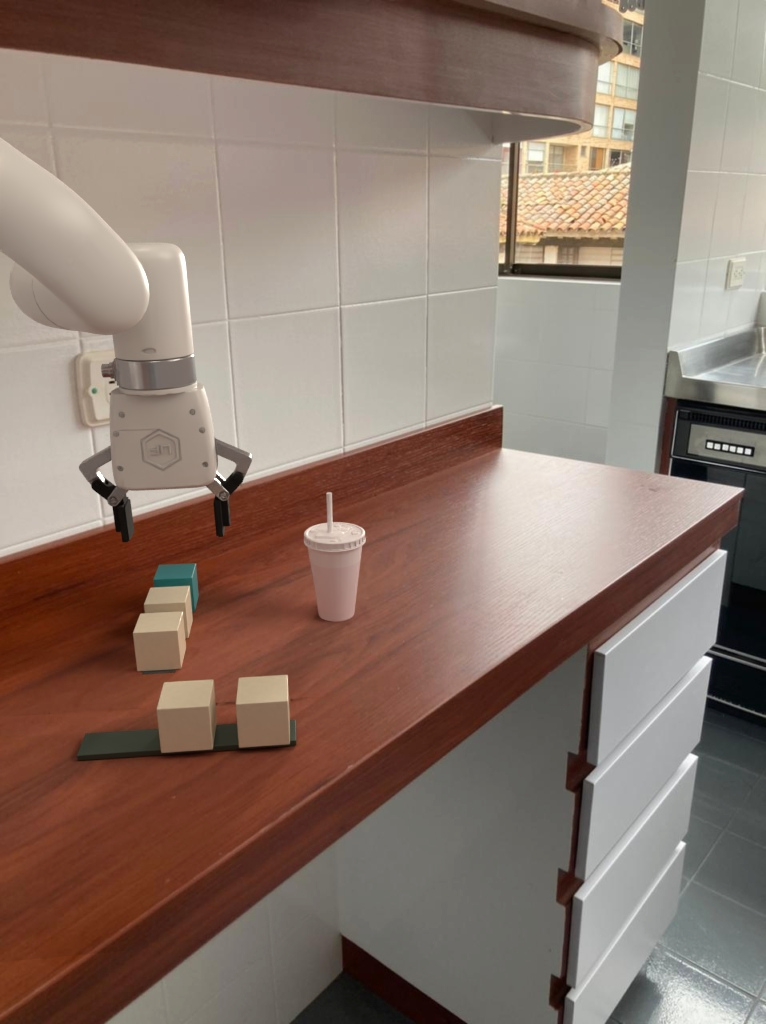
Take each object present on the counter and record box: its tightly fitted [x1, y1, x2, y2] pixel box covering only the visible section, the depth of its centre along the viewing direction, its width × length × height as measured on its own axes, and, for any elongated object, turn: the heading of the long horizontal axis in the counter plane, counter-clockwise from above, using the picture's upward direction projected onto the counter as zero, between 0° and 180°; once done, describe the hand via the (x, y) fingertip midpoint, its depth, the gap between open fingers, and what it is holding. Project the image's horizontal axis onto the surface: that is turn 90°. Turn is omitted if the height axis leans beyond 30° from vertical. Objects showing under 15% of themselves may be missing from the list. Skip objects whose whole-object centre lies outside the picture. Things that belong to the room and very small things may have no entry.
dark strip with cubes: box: [76, 674, 297, 762], centre depth 65 cm, size 17×4×4 cm, turn 96°
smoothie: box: [303, 491, 367, 622], centre depth 85 cm, size 6×6×14 cm
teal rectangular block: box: [152, 562, 200, 613], centre depth 88 cm, size 4×4×4 cm
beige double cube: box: [132, 586, 194, 675], centre depth 82 cm, size 4×17×4 cm, turn 6°
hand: (175, 535), depth 86 cm, fingers open, 9 cm apart
